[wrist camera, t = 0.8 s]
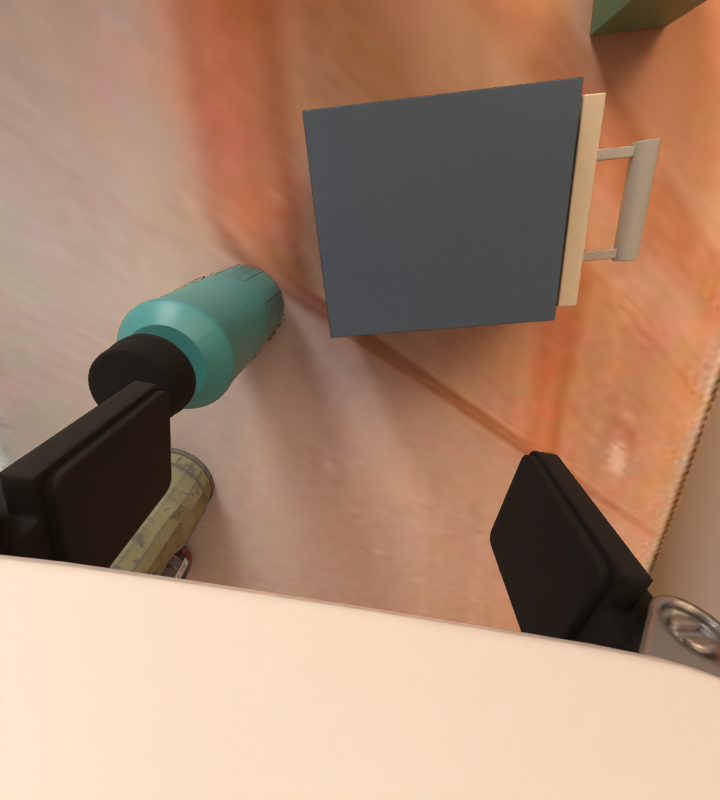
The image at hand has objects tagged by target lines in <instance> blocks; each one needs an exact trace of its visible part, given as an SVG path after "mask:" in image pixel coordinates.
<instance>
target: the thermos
mask: <svg viewBox="0 0 720 800" xmlns="http://www.w3.org/2000/svg"><path fill="white" fill-rule="evenodd" d="M171 471H172V479H171V484H170V487H169V489H168V491H167V492H166V494H165V495H164V496H163V498H162V499H161V500H160V502H159V503H158V504H157V506H156V507H155V508H154V510H153V511H152V512H151V513H150V515H149V516H148V517H147V519H146V520H145V521H144V523H143V524H142V525H141V527H140V528H139V529H138V531H137V532H136V533H135V535H134V536H133V537H132V538H131V540H130V541H129V542H128V544H127V545H126V546H125V548H124V549H123V550H122V552H121V553H120V554H119V556H118V557H117V558H116V560H115V561H114V562H113V563H112V565H111V566H110V567H109V568H111V569H118V570H125V571H132V572H138V573H145V574H152V575H159V576H161V574H162V572H163V571H164V569H165V567H166V566H167V564H168V562H169V561H170V559H171V557H172V556H173V555H174V554H175V553H176V552H178V551H179V550H180V549H182V548H183V547H184V545H185V544H186V542H187V541H188V540H189V538H190V536H191V534H192V533H193V531H194V529H195V528H196V526H197V524H198V522H199V521H200V519H201V517H202V515H203V514H204V512H205V507H206V505H207V503H208V502H209V500H210V499H211V497H212V495H213V489H214V483H213V479H212V475H211V474H210V472H209V471H208V469H207V467H206V466H205V465H204V464H203V463H202V462H201V461H200V460H199V459H197V458H196V457H194V456H192V455H191V454H189V453H187V452H185V451H181V450H177V449H173V448H171Z"/></svg>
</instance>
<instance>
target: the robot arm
mask: <svg viewBox="0 0 720 800" xmlns="http://www.w3.org/2000/svg"><path fill="white" fill-rule="evenodd" d="M171 479H172V471H171V439H170V407H169V395H168V393H167V392H165V391H163V389H162V387H161V386H160V385H157V384H152V383H146V382H140V381H134V382H132V383H131V384H129V385H128V386H126V387H125V388H123V389H122V390H120V391H119V392H117V393H116V394H115V395H113V396H112V397H110V398H109V399H107V400H106V401H104V402H103V403H101V404H100V405H98V406H97V407H95V408H94V409H92V410H91V411H89V412H88V413H87V414H85V415H84V416H82V417H81V418H79V419H78V420H76V421H75V422H73V423H72V424H70V425H69V426H67V427H66V428H64V429H63V430H62V431H60V432H59V433H57V434H56V435H54V436H53V437H51V438H50V439H48V440H47V441H45V442H44V443H42V444H41V445H39V446H38V447H36V448H35V449H34V450H32V451H31V452H29V453H28V454H26V455H25V456H23V457H22V458H20V459H19V460H17V461H16V462H14V463H13V464H11V465H10V466H8V467H7V468H6V469H4V470H3V471H1V472H0V800H720V622H719V621H718V620H716V619H715V618H714V617H713V616H712V615H710V614H708V613H707V612H705V611H704V610H702V609H701V608H699V607H698V606H696V605H694V604H692V603H690V602H688V601H686V600H684V599H681V598H678V597H674V596H671V595H659V596H655V597H654V598H653V597H652V595H651V594H650V593H649V591H648V590H647V588H648V587H649V586H650V584H651V583H652V581H653V580H652V579H651V577H650V576H649V575H648V573H647V572H646V571H645V569H644V568H643V567H642V565H641V564H640V563H639V561H638V560H637V559H636V557H635V556H634V555H633V554H632V552H631V551H630V550H629V548H628V547H627V546H626V544H625V543H624V542H623V540H622V539H621V538H620V537H619V535H618V534H617V533H616V531H615V530H614V529H613V527H612V526H611V525H610V523H609V522H608V521H607V519H606V518H605V517H604V516H603V514H602V513H601V512H600V510H599V509H598V508H597V506H596V505H595V504H594V502H593V501H592V500H591V499H590V497H589V496H588V495H587V493H586V492H585V491H584V489H583V488H582V487H581V485H580V484H579V483H578V481H577V480H576V479H575V478H574V476H573V475H572V474H571V472H570V471H569V470H568V468H567V467H566V466H565V464H564V463H563V462H562V461H561V459H560V458H559V457H558V456H557V455H555V454H550V453H544V452H538V451H532V452H531V453H530V454H529V455H524V456H523V457H522V459H521V461H520V464H519V466H518V468H517V471H516V473H515V476H514V478H513V480H512V483H511V485H510V487H509V490H508V492H507V494H506V497H505V499H504V502H503V504H502V506H501V509H500V511H499V513H498V516H497V518H496V520H495V523H494V525H493V528H492V530H491V534H490V543H491V547H492V550H493V552H494V555H495V558H496V561H497V564H498V567H499V570H500V572H501V575H502V578H503V581H504V584H505V587H506V589H507V592H508V595H509V598H510V601H511V604H512V607H513V609H514V612H515V615H516V618H517V621H518V624H519V626H520V629H521V632H518V631H512V630H506V629H499V628H493V627H487V626H481V625H475V624H468V623H462V622H456V621H450V620H444V619H438V618H431V617H425V616H419V615H413V614H407V613H400V612H394V611H387V610H381V609H375V608H368V607H362V606H355V605H349V604H343V603H336V602H330V601H323V600H317V599H310V598H304V597H297V596H291V595H285V594H278V593H272V592H265V591H259V590H252V589H245V588H239V587H232V586H225V585H219V584H212V583H205V582H199V581H192V580H185V579H179V578H172V577H165V576H159V575H152V574H145V573H138V572H132V571H125V570H118V569H111V568H109V567H110V566H111V565H112V563H113V562H114V561H115V560H116V558H117V557H118V556H119V554H120V553H121V552H122V550H123V549H124V548H125V546H126V545H127V544H128V542H129V541H130V540H131V538H132V537H133V536H134V535H135V533H136V532H137V531H138V529H139V528H140V527H141V525H142V524H143V523H144V521H145V520H146V519H147V517H148V516H149V515H150V513H151V512H152V511H153V510H154V508H155V507H156V506H157V504H158V503H159V502H160V500H161V499H162V498H163V496H164V495H165V494H166V492H167V491H168V489H169V487H170V484H171Z"/></svg>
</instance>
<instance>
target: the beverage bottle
mask: <svg viewBox="0 0 720 800" xmlns="http://www.w3.org/2000/svg"><path fill="white" fill-rule="evenodd" d="M235 265H236V264H235ZM239 265H240V264H239ZM245 265H246V264H245ZM254 267H255V266H254ZM254 267H251V266H250V267H249V266H247V265H246V266H238V265H237V266H234V267H231V268H229V269H226V270H224V271H221V272H219V273H216V274H214V275H211V276H209V277H207V276H206V278H204V277H203V278H204V279H201V280H199V281H198V280H197V281H196V282H194V283H192V284H189V285H187V284H186V283H185V284H186V285H184V284H183V285H184V286H185V287H183V288H181V289H179V290H176V291H174V292H172V293H169V294H167V295H164V296H162V297H160V298H157V299H153V300H149V301H146V302H144V303H141V304H140V305H138V306H136V307H135V308H133V309H132V310H131V311H130V312H129V313H128V314H127V315H126V317H125V318H124V320H123V321H122V323H121V326H120V328H119V332H118V337H117V342H116V343H115V344H114V345H112V346H111V347H110V348H109V349H107V350H106V351H104V352H103V353H101V354H100V355H99V356H98V357H97V358H96V359H95V361H94V362H93V363H92V365H91V367H90V370H89V376H88V382H89V388H90V391H91V394H92V396H93V398H94V400H95V401H96V403H97V404H98V405H100V404H101V403H103V402H104V401H106V400H107V399H109V398H110V397H112V396H113V395H115V394H116V393H117V392H119V391H120V390H122V389H123V388H125V387H126V386H128V385H129V384H131V383H132V382H134V381H140V382H146V383H152V384H157V385H160V386H161V387H162V389H163V391H165V392H167V393H168V395H169V407H170V417H172V416H173V415H174V414H176V413H178V412H179V411H181V410H182V409H193V408H199V407H203V406H206V405H209V404H211V403H213V402H214V401H216V400H218V399H219V398H220V397H221V396H222V395H223V394H224V393H225V392H226V390H227V389H228V388H229V386H230V384H231V382H232V381H233V380H234V379H235V378H236V376H237V375H238V374H239V373H240V372H241V371H243V370H242V369H243V368H244V367H245V366H246V365H247V364H248V363H249V362H251V359H255V358H253V357H254V356H255V357H256V353H257V352H258V351H259V350H260V348H261V347H262V346H263V344H264V343H265V342H266V341H267V339H268V338H269V337H270V336H271V334H272V333H274V334H275V333H276V331H275V329H276V328H277V327H278V325H279V326H281V325H280V324H281V323H280V322H281V320H282V316H283V315H284V314H285V313H284V314H283V311H284V305H285V303H283V299H284V298H282V295H281V293H282V292H281V291H280V290H279V288H278V286H277V285H276V283H275V282H274V281H273V280H272V279H271V278H270V277H269V276H268V275H267V274H265V273H264V272H263V270H262V271H261V270H258V269H256V268H257V267H256V268H254ZM225 268H226V267H225ZM211 274H212V273H211ZM201 278H202V277H201ZM197 279H199V278H197ZM195 280H196V279H195ZM192 282H193V281H192ZM180 287H181V286H180ZM177 289H178V288H177ZM274 331H275V332H274ZM272 335H273V334H272ZM269 339H271V338H269ZM261 351H262V350H261ZM261 351H260V352H261ZM260 352H259V353H260ZM246 368H247V367H246Z"/></svg>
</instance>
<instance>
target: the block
mask: <svg viewBox="0 0 720 800" xmlns="http://www.w3.org/2000/svg"><path fill="white" fill-rule="evenodd" d="M704 1H706V0H594V5H593V14H592V22H591V30H590V36H593V35H601V34H609V33H617V32H624V31H632V30H640V29H648V28H656V27H664V26H667V25H669V24H670V23H672V22H674V21H675V20H677V19H678V18H680V17H681V16H683V15H684V14H686V13H687V12H689V11H691V10H692V9H694V8H695V7H697V6H698V5H700V4H701V3H703V2H704Z"/></svg>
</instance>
